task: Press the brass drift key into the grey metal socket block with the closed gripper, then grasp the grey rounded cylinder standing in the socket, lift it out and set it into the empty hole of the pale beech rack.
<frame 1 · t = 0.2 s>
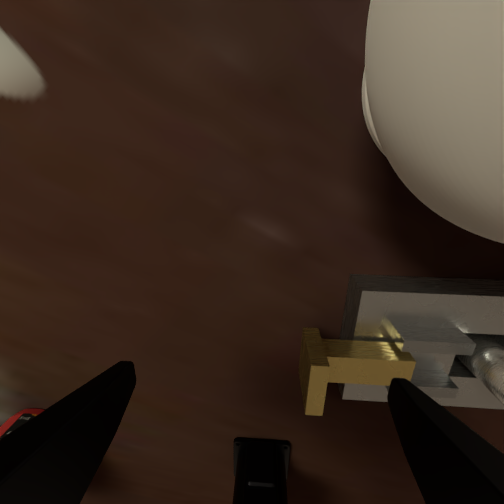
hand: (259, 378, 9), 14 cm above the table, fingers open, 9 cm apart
key: (357, 371, 19), point 5 cm above the table, slide at 0.0 cm
socket: (418, 331, 23), on the table
canned food: (44, 427, 31), on the table
grey rounded cylinder: (457, 332, 23), resting in socket
decorative vase: (457, 78, 17), on the table
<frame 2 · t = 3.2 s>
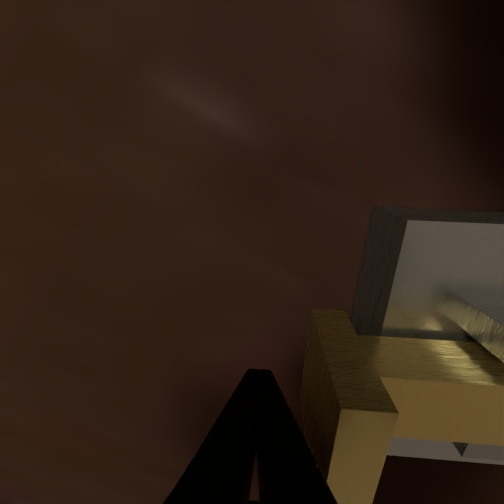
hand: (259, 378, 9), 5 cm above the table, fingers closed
key: (442, 412, 8), point 5 cm above the table, slide at 1.4 cm, touching gripper
socket: (494, 323, 12), on the table
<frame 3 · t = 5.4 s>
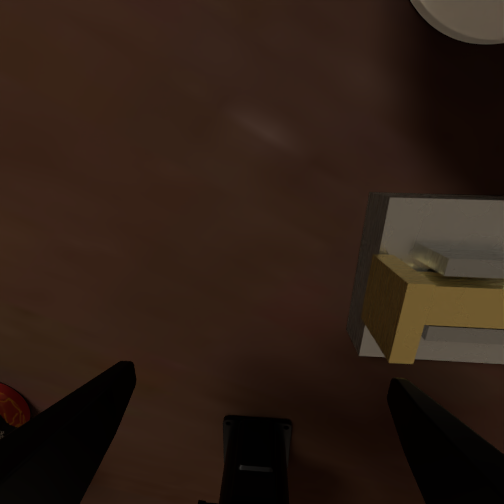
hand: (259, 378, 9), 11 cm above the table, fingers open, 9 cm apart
key: (454, 307, 14), point 5 cm above the table, slide at 3.7 cm
socket: (453, 271, 18), on the table
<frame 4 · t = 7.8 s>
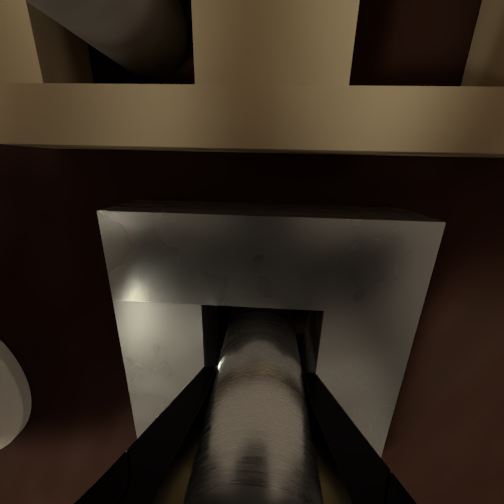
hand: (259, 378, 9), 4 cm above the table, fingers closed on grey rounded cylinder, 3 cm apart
socket: (259, 369, 14), on the table
rack: (272, 30, 9), on the table
grey rounded cylinder: (261, 313, 13), resting in socket, touching gripper
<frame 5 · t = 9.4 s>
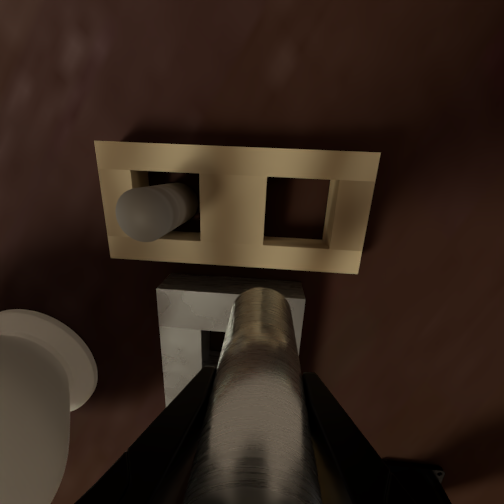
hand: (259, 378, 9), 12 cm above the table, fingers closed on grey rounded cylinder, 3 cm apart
socket: (232, 363, 24), on the table
rack: (236, 205, 19), on the table
grey rounded cylinder: (261, 314, 13), point 8 cm above the table, touching gripper
decorative vase: (39, 361, 26), on the table
when the fingers open (5 cm above the table, at t = 11.1 s): grey rounded cylinder drops 1 cm, resting in rack.
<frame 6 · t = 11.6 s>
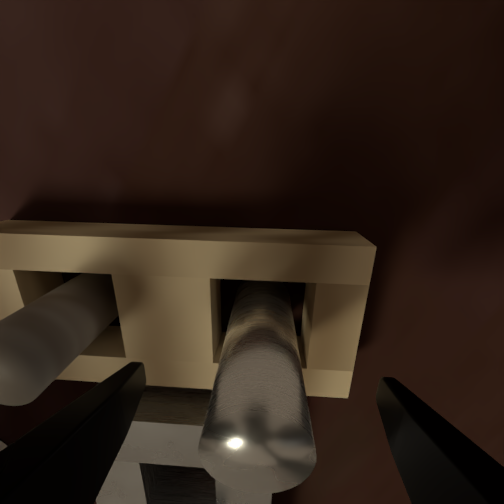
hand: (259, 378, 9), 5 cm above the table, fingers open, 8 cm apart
socket: (196, 471, 19), on the table
rack: (182, 295, 14), on the table
grey rounded cylinder: (262, 299, 14), resting in rack
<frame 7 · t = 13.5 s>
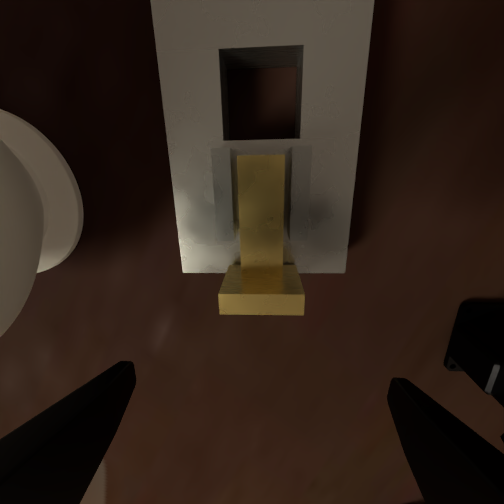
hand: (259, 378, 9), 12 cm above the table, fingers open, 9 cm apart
key: (261, 232, 14), point 5 cm above the table, slide at 3.7 cm
socket: (262, 164, 18), on the table
decorative vase: (6, 196, 20), on the table
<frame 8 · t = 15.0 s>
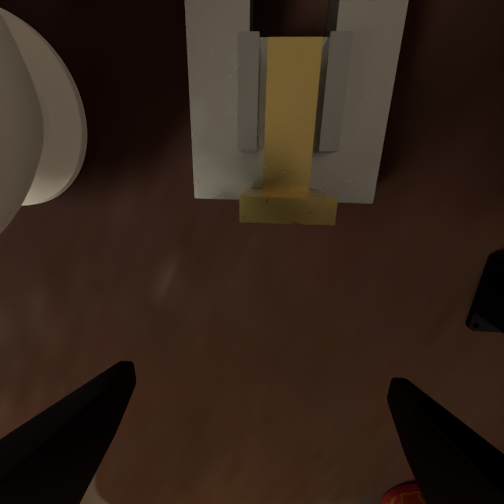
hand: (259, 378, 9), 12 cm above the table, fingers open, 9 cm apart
key: (289, 135, 12), point 5 cm above the table, slide at 3.7 cm
socket: (286, 84, 16), on the table
canned food: (411, 501, 29), on the table
decorative vase: (3, 115, 18), on the table
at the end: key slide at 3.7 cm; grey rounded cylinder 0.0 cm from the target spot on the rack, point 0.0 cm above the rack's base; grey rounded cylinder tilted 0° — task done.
